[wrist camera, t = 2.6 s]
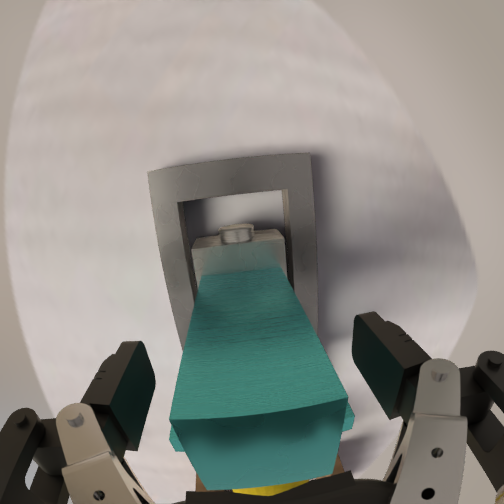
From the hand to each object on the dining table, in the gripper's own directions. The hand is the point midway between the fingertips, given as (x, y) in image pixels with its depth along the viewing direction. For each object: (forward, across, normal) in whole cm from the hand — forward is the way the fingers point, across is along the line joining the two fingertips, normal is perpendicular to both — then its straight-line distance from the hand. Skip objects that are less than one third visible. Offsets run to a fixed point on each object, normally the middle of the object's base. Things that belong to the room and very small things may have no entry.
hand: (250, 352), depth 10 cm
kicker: (+6, 0, 0) cm, 6 cm away
